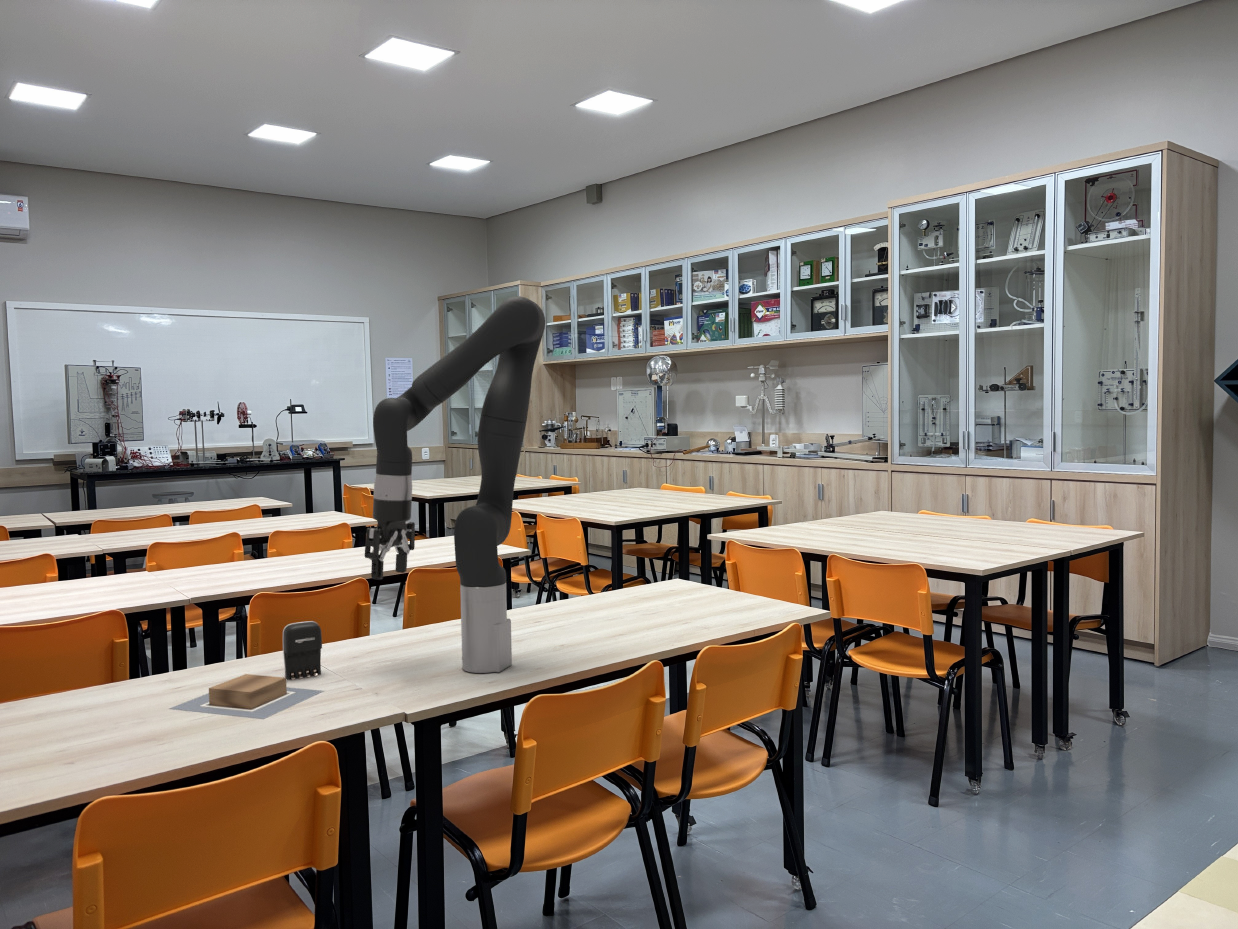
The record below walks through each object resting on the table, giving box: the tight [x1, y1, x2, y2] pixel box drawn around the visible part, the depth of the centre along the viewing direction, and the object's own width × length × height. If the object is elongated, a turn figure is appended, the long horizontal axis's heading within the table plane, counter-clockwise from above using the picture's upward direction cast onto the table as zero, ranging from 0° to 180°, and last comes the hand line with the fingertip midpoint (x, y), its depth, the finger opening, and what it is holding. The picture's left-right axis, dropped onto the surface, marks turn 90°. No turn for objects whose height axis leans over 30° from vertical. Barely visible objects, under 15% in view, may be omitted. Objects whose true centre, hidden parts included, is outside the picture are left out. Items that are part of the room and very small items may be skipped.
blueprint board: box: [168, 686, 325, 720], centre depth 155 cm, size 20×16×1 cm
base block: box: [208, 673, 288, 709], centre depth 155 cm, size 9×9×3 cm
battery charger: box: [282, 620, 323, 681], centre depth 169 cm, size 7×4×11 cm, turn 122°
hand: (389, 575), depth 177 cm, fingers open, 8 cm apart
